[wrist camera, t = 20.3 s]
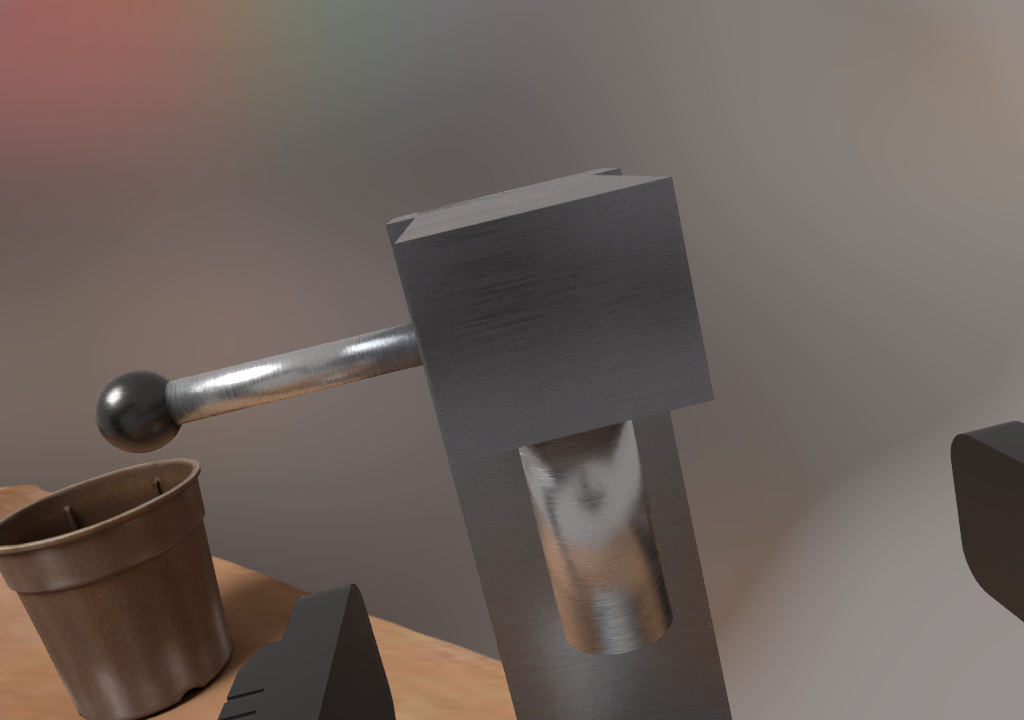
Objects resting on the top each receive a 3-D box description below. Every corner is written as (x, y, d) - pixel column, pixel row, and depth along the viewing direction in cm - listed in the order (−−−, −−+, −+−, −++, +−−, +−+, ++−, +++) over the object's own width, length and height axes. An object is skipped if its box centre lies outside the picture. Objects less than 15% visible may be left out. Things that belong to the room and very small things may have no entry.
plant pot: (83, 659, 78) (19, 494, 75) (264, 603, 81) (210, 440, 77) (23, 774, 63) (-61, 571, 59) (250, 699, 65) (182, 501, 62)
